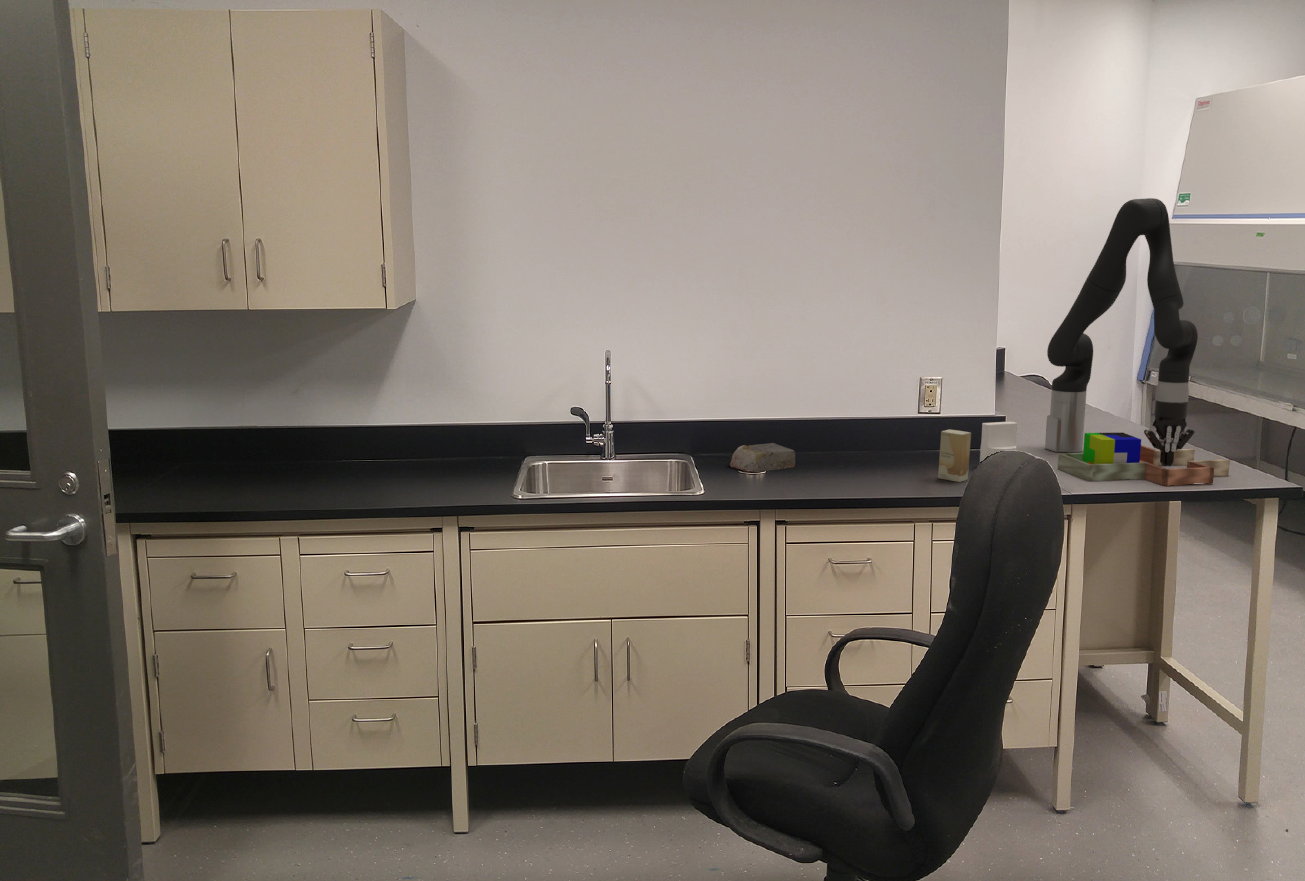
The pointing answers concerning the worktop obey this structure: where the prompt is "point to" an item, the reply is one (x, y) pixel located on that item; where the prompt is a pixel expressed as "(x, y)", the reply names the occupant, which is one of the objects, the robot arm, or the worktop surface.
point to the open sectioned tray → (1147, 468)
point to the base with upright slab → (997, 438)
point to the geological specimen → (763, 457)
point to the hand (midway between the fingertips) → (1166, 465)
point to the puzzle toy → (1111, 448)
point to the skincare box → (954, 455)
